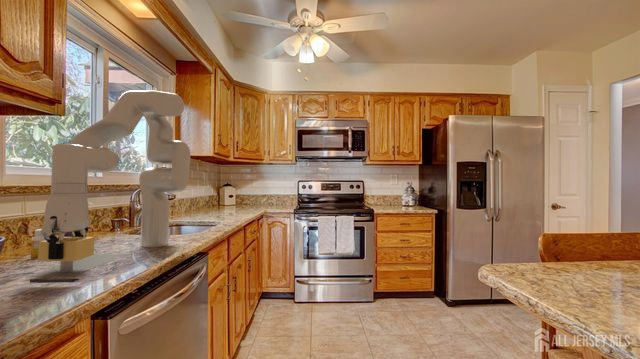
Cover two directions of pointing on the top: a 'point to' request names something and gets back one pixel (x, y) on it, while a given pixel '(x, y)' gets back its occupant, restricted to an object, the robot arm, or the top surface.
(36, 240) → the supplement bottle
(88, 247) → the tan hollow block
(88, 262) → the keeper board
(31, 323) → the top surface
